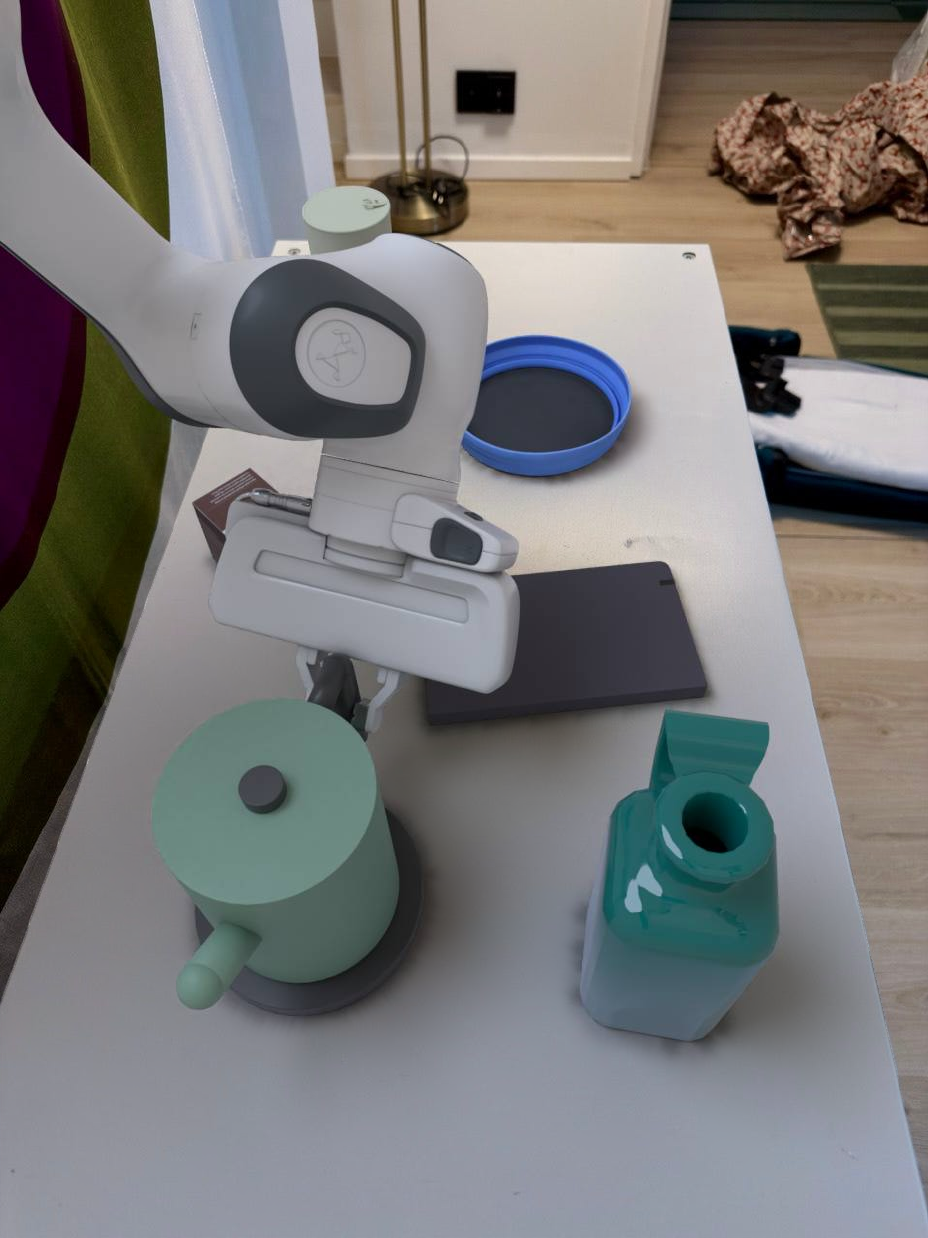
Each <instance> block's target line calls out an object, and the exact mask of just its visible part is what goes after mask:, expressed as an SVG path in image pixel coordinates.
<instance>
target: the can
mask: <svg viewBox="0 0 928 1238" xmlns="http://www.w3.org/2000/svg"><path fill="white" fill-rule="evenodd" d="M301 215H302V216H301V217H302V219H303V223H304V227H305V233H306V237H307V243H308V244H307V245H308V248H309V255H315V254H324V253H331V252H337V251H343V250H347V249H351V248H355V247H359V246H362V245H364V244H367V243H370V242H372V241H373V240H374V239H375V238H377V237H378V236H380V235H383V234H386V233H393V229H392V218H391V203H390V200H389V198H388V197H387V196H386V195H385V193H383V192H381V191H379V190H377V189H375V188H372V187H368V186H363V185H342V186H341V185H340V186H335V187H334V186H333V187H331V188H327V189H324V190H322V191H319V192H317V193H316V194H314V195H312V196H310V197H309V199H307V201H306V202H305V203H304V204H303V206H302V209H301Z"/></svg>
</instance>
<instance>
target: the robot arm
mask: <svg viewBox="0 0 928 1238" xmlns="http://www.w3.org/2000/svg"><path fill="white" fill-rule="evenodd" d="M21 13H22V12H21V3H20V0H0V246H1V247H2V248H4V249H5V251H7V252H8V253H9V254H11V255H12V256H13V257H15V258H16V259H17V260H18V261H20V263H22V264H23V265H24V266H26V268H28V269H29V270H30V271H32V272H33V274H35V275H36V276H38V278H40V279H41V280H42V281H44V283H46V284H47V285H48V286H49V287H51V288H52V289H53V290H55V291H56V292H57V293H58V294H60V295H61V296H62V297H63V298H64V299H65V300H66V301H68V302H69V304H71V305H72V306H74V307H75V308H76V309H77V310H78V311H80V312H81V313H82V314H83V315H84V316H85V317H86V318H88V320H89V321H90V322H91V323H92V324H93V325H94V326H95V327H96V328H97V329H98V330H99V332H100V333H101V334H102V335H103V337H104V338H105V339H106V341H107V343H108V344H109V346H110V347H111V348H112V349H113V351H114V353H115V355H116V356H117V358H118V360H119V361H120V363H121V365H122V366H123V368H124V369H125V371H126V373H127V374H128V377H130V380H131V381H132V382H133V384H134V385H135V387H136V388H137V389H138V391H139V392H140V393H141V394H142V395H143V397H144V398H145V399H146V400H147V402H148V403H150V404H151V405H152V406H153V407H154V408H155V409H157V410H158V411H159V412H160V413H162V414H163V415H165V416H166V417H168V418H170V419H172V420H174V421H176V422H178V423H181V424H183V425H187V426H191V427H194V428H195V427H196V428H203V429H205V428H206V429H228V430H232V431H237V432H242V433H247V434H251V435H256V436H263V437H264V436H265V437H268V438H269V437H270V438H274V439H280V440H285V441H291V442H292V441H293V442H313V441H318V440H319V441H320V440H322V448H321V452H320V453H321V454H320V458H319V462H318V463H319V464H318V468H317V473H316V479H315V485H314V491H313V495H312V496H313V497H312V498H311V497H304V496H300V495H295V494H287V493H281V492H279V493H276V492H274V491H273V490H269V489H265V488H254V489H253V490H252V492H246V493H244V494H241V495H240V496H238V497H237V498H236V499H235V500H234V501H233V502H232V503H231V505H230V507H229V510H228V516H227V522H226V528H225V536H226V542H225V544H224V547H223V550H222V553H221V556H220V559H219V562H218V563H217V565H216V569H215V572H214V576H213V579H212V583H211V587H210V592H209V595H208V597H209V598H208V608H209V610H210V613H211V615H212V618H213V620H214V621H215V623H217V624H219V625H222V626H225V627H230V628H234V629H238V630H240V631H241V630H242V631H245V632H250V633H253V634H256V635H260V636H263V637H268V638H272V639H275V640H280V641H284V642H287V643H291V644H295V645H297V649H296V650H297V651H296V656H295V664H296V666H297V669H298V672H299V674H300V678H301V681H302V683H303V686H304V689H305V690H306V693H305V698H304V699H305V700H304V701H307V700H308V698H309V695H310V693H311V691H312V689H313V687H314V684H315V682H316V680H317V678H318V676H319V673H320V671H321V667H322V664H321V663H323V661H324V660H325V659H326V657H328V656H329V655H330V654H334V653H342V654H344V655H346V656H348V657H349V658H350V659H351V660H356V661H359V662H363V663H367V664H369V665H370V664H371V665H373V666H374V665H375V666H378V672H377V676H376V681H377V683H379V684H382V685H383V686H382V688H381V689H380V690H379V691H378V692H377V693H376V695H375V696H374V697H373V698H372V699H371V698H366V697H363V698H361V701H358V702H356V703H355V707H354V712H353V713H354V715H355V717H354V718H353V719H352V722H351V725H352V726H353V728H355V729H358V730H362V731H365V732H368V734H374V733H376V732H377V731H378V730H380V727H381V725H382V721H383V715H384V711H385V710H384V709H385V706H386V705H387V704H388V703H389V702H390V701H391V699H393V697H395V695H396V694H397V693H398V692H399V691H400V690H401V689H402V687H404V686H405V684H406V683H407V681H408V675H412V676H416V677H420V678H424V679H425V678H427V679H431V680H435V681H439V682H443V683H446V684H450V685H454V686H458V687H462V688H465V689H469V690H473V691H477V692H480V693H486V694H487V693H491V692H493V691H494V690H496V689H497V688H499V687H501V686H502V685H503V684H504V683H506V681H507V680H508V679H509V677H510V675H511V672H512V669H513V664H514V659H515V653H516V647H517V639H518V630H519V617H520V597H519V591H518V588H517V585H516V583H515V581H514V580H513V578H512V577H511V576H510V573H508V572H507V571H506V570H509V569H511V568H512V567H513V566H514V565H515V564H516V561H517V559H518V557H519V552H520V543H519V540H518V538H516V537H515V536H514V535H512V534H511V533H509V532H508V531H506V530H504V529H503V528H501V527H499V526H497V525H495V524H494V523H492V522H490V521H488V520H487V519H485V518H483V516H481V515H479V514H478V513H476V512H474V511H471V510H470V509H468V508H467V507H465V506H463V505H462V504H459V502H458V500H457V499H458V494H459V488H460V483H461V477H462V470H461V447H462V445H461V443H462V439H463V436H464V433H465V431H466V429H467V427H468V425H469V423H470V421H471V420H472V417H473V415H474V411H475V407H476V402H477V397H478V393H479V388H480V382H481V377H482V371H483V365H484V359H485V352H486V345H487V344H488V333H489V332H488V331H489V300H488V290H487V285H486V283H485V280H484V277H483V276H482V274H481V273H480V272H479V270H478V269H476V267H475V266H474V265H473V264H472V263H471V262H470V261H469V260H468V259H467V258H465V257H464V255H461V254H460V253H459V252H457V251H455V250H454V249H453V248H451V247H448V246H446V245H445V244H442V243H440V242H435V241H433V240H430V239H428V238H424V237H422V236H420V235H416V234H411V233H402V232H392V233H386V234H383V235H380V236H378V237H377V238H375V239H374V240H373V241H372V242H370V243H367V244H364V245H362V246H359V247H355V248H351V249H347V250H343V251H337V252H331V253H324V254H315V255H311V254H301V255H300V254H299V255H297V254H296V255H295V254H294V255H272V256H271V255H270V256H261V257H250V258H246V259H234V260H233V259H232V260H222V259H221V260H220V259H215V258H211V257H207V256H203V255H200V254H196V253H193V252H191V251H188V250H185V249H183V248H181V247H179V246H177V245H175V244H173V243H171V242H170V241H168V240H167V239H166V238H164V237H163V236H162V235H161V234H160V233H158V232H157V231H156V230H155V229H154V228H153V227H152V226H151V225H150V224H149V222H147V221H146V220H145V219H144V218H143V216H141V215H140V214H139V213H138V212H137V211H136V210H135V209H134V208H133V207H132V206H131V204H129V203H128V202H127V201H126V200H125V199H124V198H123V197H122V196H121V195H120V194H119V193H118V192H117V191H116V190H115V189H114V188H113V187H112V186H111V185H110V184H109V183H108V182H107V181H106V180H105V179H104V178H103V177H102V176H101V175H100V174H99V173H98V172H97V171H96V170H95V169H93V168H92V166H90V164H89V163H88V162H86V160H85V159H83V158H82V156H81V155H79V154H78V153H77V152H76V151H75V149H73V147H71V145H70V144H69V143H68V142H67V141H65V139H64V138H63V137H62V136H61V135H60V134H59V132H58V131H57V129H55V127H54V126H53V125H52V123H51V121H50V120H49V119H48V117H47V116H46V114H45V112H44V110H43V109H42V107H41V105H40V104H39V102H38V100H37V97H36V95H35V92H34V90H33V87H32V85H31V82H30V79H29V78H30V77H29V75H28V72H27V68H26V63H25V58H24V52H23V46H22V45H23V44H22V16H21V15H22V14H21ZM248 498H251V501H252V502H254V503H256V504H254V503H250V502H245V501H243V500H245V499H248ZM271 507H276V508H281V509H283V510H280V509H276V508H271ZM284 510H286V511H284Z"/></svg>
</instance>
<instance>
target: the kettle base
mask: <svg viewBox="0 0 928 1238" xmlns="http://www.w3.org/2000/svg"><path fill="white" fill-rule="evenodd" d="M384 809H385V813H386V817H387V822H388V826H389V830H390V835H391V839H392V843H393V848H394V852H395V856H396V861H397V865H398V872H399V895H398V902H397V906H396V909H395V913H394V915H393V918H392V920H391V923H390V925H389V927H388V928H387V930H386V932H385V934H384V935H383V937H382V938H381V939H380V941H379V942H378V944H377V945H376V946H375V947H374V948H373V949H372V950H371V951H370V952H369V953H368V955H366V956H365V957H364V958H363V959H362V960H360V961H359V962H358V963H357V964H355V965H353V966H352V967H350V968H349V969H347V970H345V971H343V972H341V973H339V974H337V975H335V976H332V977H329V978H326V979H323V980H319V981H314V982H308V983H288V982H281V981H277V980H272V979H270V978H267V977H265V976H262V975H260V974H258V973H256V972H255V971H253V970H251V969H250V968H248V967H247V966H246V965H244V966H243V968H242V969H241V971H240V972H239V973H238V975H237V976H236V977H235V979H234V980H233V982H232V983H231V984H230V986H229V987H228V989H230V990H231V991H232V992H233V994H235V995H236V996H238V997H239V998H241V999H242V1000H244V1001H246V1002H247V1003H248V1004H250V1005H252V1006H255V1007H257V1008H258V1009H260V1010H264V1011H267V1012H271V1013H274V1014H279V1015H285V1016H295V1017H296V1016H297V1017H298V1016H299V1017H302V1016H305V1017H306V1016H314V1015H315V1016H316V1015H323V1014H326V1013H330V1012H334V1011H336V1010H339V1009H343V1008H344V1007H347V1006H349V1005H351V1004H354V1003H355V1002H357V1001H359V1000H361V999H362V998H364V997H366V996H368V995H369V994H371V993H372V992H373V991H374V990H376V989H378V987H380V986H381V985H382V984H383V983H384V982H385V981H386V980H387V979H388V978H389V977H391V975H393V973H394V972H395V971H396V969H397V968H398V966H400V964H401V963H402V962H403V960H404V958H405V957H406V955H407V954H408V952H409V951H410V948H411V947H412V944H413V942H414V940H415V938H416V935H417V934H418V929H419V926H420V924H421V921H422V920H421V919H422V915H423V909H424V897H425V888H424V878H423V877H424V876H423V871H422V865H421V862H420V858H419V857H420V856H419V854H418V851H417V849H416V846H415V843H414V841H413V840H412V837H411V836H410V834H409V833H408V831H407V829H406V827H405V826H404V825H403V824H402V822H401V821H400V820H399V819H398V817H396V816H395V815H394V814H393V813H392V812H391V811H390V810H389V809H388V808H387V807H385V806H384ZM194 919H195V920H194V921H195V927H196V928H195V929H196V933H197V938H198V942H199V944H200V947H201V946H202V944H203V943H204V942H205V941H206V940H207V938H208V937H209V936H210V935H211V933H212V932H213V931H214V930H215V929H214V927H213V926H212V925H211V923H210V922H209V921H208V920H207V918H206V917H205V916H204V914H203V913H202V912H201V910H200V909H199V908H198V907H197V905H196V904H195V903H194Z"/></svg>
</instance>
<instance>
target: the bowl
mask: <svg viewBox="0 0 928 1238" xmlns="http://www.w3.org/2000/svg"><path fill="white" fill-rule="evenodd" d="M631 406H632V389H631V383H630V381H629V378H628V375H627V373H626V372H625V370H624V368H622V366H621V365H620V364H619V363H618V362H617V361H616V360H615V359H614V358H613V357H611V356H610V355H608V354H607V353H606V352H604V351H603V350H601V349H600V348H599V349H598V348H597V347H596V346H593V345H590V344H587V343H585V342H582V341H579V340H576V339H572V338H568V337H563V336H557V335H550V334H549V335H548V334H523V335H516V336H511V337H505V338H502V339H498V340H495V341H492V342H489V343H487V344H486V352H485V359H484V365H483V371H482V377H481V382H480V388H479V393H478V397H477V402H476V407H475V411H474V415H473V417H472V420H471V421H470V423H469V425H468V427H467V429H466V431H465V433H464V436H463V439H462V443H461V447H462V448H463V449H464V450H465V451H466V452H467V453H468V454H469V455H470V456H472V457H473V458H474V459H476V460H477V461H478V462H481V463H483V464H484V465H486V466H488V467H490V468H493V469H495V470H499V471H502V472H506V473H509V474H515V475H521V476H536V477H539V476H541V477H542V476H553V475H560V474H565V473H569V472H572V471H575V470H579V469H581V468H584V467H586V466H588V465H590V464H592V463H593V462H595V461H596V460H598V459H600V458H601V457H603V455H605V454H606V453H607V452H608V451H609V450H610V449H611V448H612V447H613V446H614V445H615V443H616V442H617V440H618V438H619V436H620V434H621V432H622V431H623V429H624V427H625V425H626V423H627V421H628V418H629V416H630V412H631Z"/></svg>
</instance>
